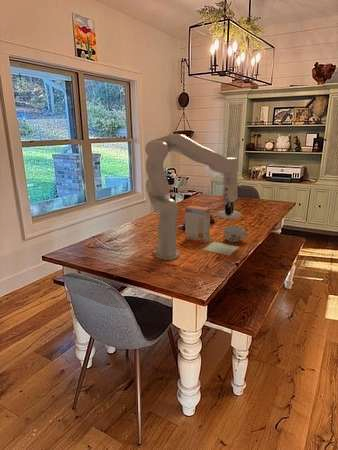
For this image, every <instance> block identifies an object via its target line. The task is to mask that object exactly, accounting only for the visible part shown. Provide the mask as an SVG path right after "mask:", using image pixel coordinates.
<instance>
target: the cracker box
mask: <svg viewBox="0 0 338 450" xmlns="http://www.w3.org/2000/svg"><path fill="white" fill-rule="evenodd" d="M210 226H211V207H203V206H198V205H193V204H192V205H191V204H190V205H188V206H185V226H184V227H185V232H184V233H185V236H184V237H185V238H184V239H185V240H186V241H191V242H192V241H193V242H196V243H201V244H207V243H208V242H210V236H211V235H210V234H211V233H210V232H211V229H210V228H211V227H210Z"/></svg>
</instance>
